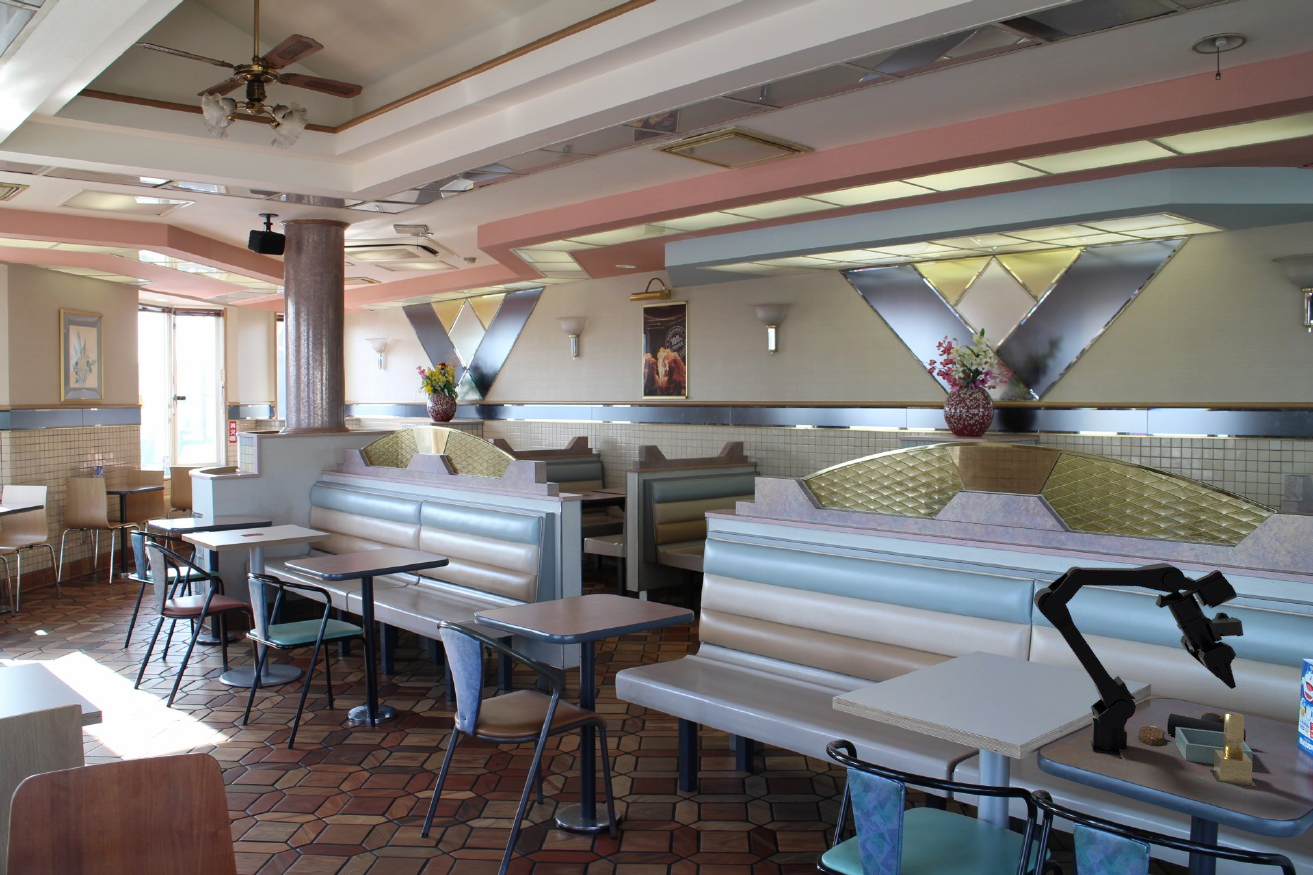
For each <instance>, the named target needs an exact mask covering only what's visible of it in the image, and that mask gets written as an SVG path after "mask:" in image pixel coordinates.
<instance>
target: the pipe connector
mask: <svg viewBox="0 0 1313 875" xmlns="http://www.w3.org/2000/svg"><path fill="white" fill-rule="evenodd" d="M1224 723H1225V714H1224V715H1222V714H1219V713H1217V712H1213V711H1212V712H1207V711H1205V712H1204V713H1203V714H1202V716H1201V718H1195V717H1190V716H1185V715H1181V714H1175V713H1170V714H1169V715H1168V718H1167V723H1166V725H1167V727H1166V728H1167V735H1169V734H1171V735H1170V736H1173V735H1175V736H1174V737H1176V727H1181V728H1189V729H1198V730H1207V731H1216V732H1224ZM1246 732H1247V731H1246V728H1245V727H1244V742H1245V743H1246V736H1247V735H1246Z"/></svg>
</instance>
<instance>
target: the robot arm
mask: <svg viewBox="0 0 1313 875" xmlns="http://www.w3.org/2000/svg"><path fill="white" fill-rule="evenodd" d="M1083 586H1093V587H1094V586H1100V587H1101V586H1102V587H1103V586H1105V587H1138V588H1146V589H1149V590H1153V591H1158V592H1164V593H1168V594H1166V595H1163V594H1162V593H1158V594H1157V595H1158V596H1157V599H1156V602H1155V606H1157V607H1159V609H1163V608H1165V607H1167V608H1168V610H1169V611H1170V613H1171V615H1172V617H1173V619H1174V620H1175V621H1176V626H1177V629H1178V630H1180V631H1181V633H1182V634H1183V635H1182V636H1181V638H1180V643H1181V646H1182V647H1183V649H1184V650H1185V651H1186V652H1187V653H1188V654H1190V656H1191V657H1193V658H1194V659H1195V660H1196V661H1198V662H1199V663H1200V664H1201V665H1202V666H1203V667H1204V668H1205V669H1206V670H1208V671H1209V672H1210V673H1211V674H1212V675H1213V676H1214V677H1216V679H1219V680H1220V681H1222V683H1224V685H1225V686H1227V687H1228V688H1230V689H1231V690H1232V689H1235V688H1236V687H1237V685H1236V681H1235V677H1234V674H1233V670H1232V663H1233V661H1234V660H1235V659H1236V656H1237V654H1236V652H1235V650H1234V648H1233V647H1232V646H1231V645H1230V644H1228V643H1226V642H1224V641H1222V640H1223V638H1222V637H1234V636H1236V637H1243V636H1244V629H1243V621H1242V620H1240V619H1239V618H1237V617H1233V616H1230V617H1229V616H1228V614H1227V613H1226V612H1224V611H1221V612H1220V611H1219V612H1216V614H1215V616H1214V618H1213V617H1212V619H1211V618H1210V617H1207V615H1206V614H1205V613H1204V611H1203V609H1202V608H1201V606H1202V607H1206V606H1207V607H1208V608H1209V609H1214V608H1216V607H1218V606H1220V605H1223V604H1224V603H1227V602H1230V601H1232V600H1235V599H1237V598H1238V595H1237V592H1236V589H1235V588H1234V587H1233V585H1232V584H1231V583H1230V582H1229V581H1228V579H1227V578H1226V577H1225V576H1224V575H1223V573H1222V571H1220V570H1218V569H1215V570H1213V571H1211V572H1209V573H1208V574H1206V575H1203V576H1202V577H1199V578H1196V579H1194V578H1192V577H1190V576H1187V577H1186V576H1185V573H1184V572H1183V571H1182V570H1180V568H1178V567H1176V566H1174V565H1172V564H1170V563H1168V562H1160V563H1154V564H1147V565H1143V566H1139V567H1124V568H1123V567H1081V566H1077V565H1076V566H1071V567H1069V568H1068V569H1067V571H1065V573H1063V574H1062V575H1061V576H1059V577H1058V578H1057V579H1055V580H1054V581H1053V582H1051V583H1050V584H1049V585H1048V586H1047V587H1042V588H1039V589H1038V590H1037V591H1036V592H1035V594H1034V597H1033V602H1034V605H1035V607H1036V608H1037V609H1038V611H1039V612H1040V613H1041V614H1042V615H1043V616H1044V617H1045V618H1046V619H1047V621H1049V622H1050V624H1051V625H1052V626H1054V627H1055V629H1057V631H1059V633H1060V634H1061V636H1062V638H1063V639H1064V640H1065V642H1066V643H1067V645H1068V646H1069V648H1070V649H1071V650H1072V652H1073V653H1074V655H1075V657H1076V658H1077V660H1078V661H1079V663H1080V664H1081V666H1082V667H1083V668H1084V670H1085V671H1086V673H1087V674H1088V676H1089V677H1090V678H1091V680H1092V682H1093V684H1094V686H1095V689H1096V691H1097V694H1098V697H1099V699H1098V700H1097V701H1095V703H1093V704H1091V706H1090V709H1091V712H1092V715H1093V716H1094V717H1092V719H1091V720H1092V721H1091V740H1090V745H1091V746H1090V747H1091V749H1092V751H1093V752H1097V753H1104V754H1105V753H1106V754H1113V755H1114V754H1115V755H1121V752H1120V750H1127V747H1128V732H1127V730H1126V728H1125V727H1126V724H1127V722H1128V720H1129V719H1131V718H1132V717H1133V715H1134V714H1135V712H1136V709H1137V707H1136V706H1137V705H1136V702H1135V701H1134V700H1136V697H1135V696H1134V695H1133V694H1132V692H1131V691H1130V690H1129V689H1128V687H1127V685H1126V683H1125V682H1124V680H1123V679H1122V678H1121V677H1120V675H1117V676H1116V677H1115V678H1113V676H1111V675H1110V674H1109V673H1108V671H1107V669H1106V668H1105V667H1104V665H1103V664H1102V663H1101V661H1100V660H1099V658H1098V657H1097V655H1096V654H1095V653H1094V651H1093V649H1092V648H1091V647H1090V644H1089V643H1088V642H1087V641H1086V639H1085V637H1084V636H1083V635H1082V633H1081V632H1080V630H1079V629H1078V628H1077V626H1076V624H1075V622H1074V620H1073V617H1072V615H1071V613H1070V610H1069V608H1068V606H1067V604H1068V602H1070V601H1071V600H1073V598H1074V597H1075V596H1076V594H1077V593H1078V591H1080V589H1081V588H1083ZM1180 591H1182V592H1180ZM1197 600H1198V601H1197ZM1198 602H1199V603H1200V604H1199V603H1198ZM1200 605H1201V606H1200Z"/></svg>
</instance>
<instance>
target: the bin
mask: <svg viewBox="0 0 1313 875" xmlns="http://www.w3.org/2000/svg"><path fill="white" fill-rule="evenodd" d="M1174 739H1175V742H1174V743H1175V744H1176V746H1177V748H1178V750H1179V751H1180V753H1181V755H1182V757H1183V759H1184V760H1185V761H1186V762H1194V763H1204V764H1209V765H1214V754H1215V750H1221V751H1224V732H1216V731H1207V730H1198V729H1189V728H1181V727H1176V736H1175V738H1174ZM1243 753H1246V755H1247V756H1248V757H1249V759H1250V760H1251V761H1252V762H1253V754H1254V752H1253V750H1252V749H1251V748H1250V747H1249V745H1248V744H1247V743H1246V741H1245V742H1244V741H1243Z"/></svg>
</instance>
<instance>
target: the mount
mask: <svg viewBox="0 0 1313 875" xmlns="http://www.w3.org/2000/svg"><path fill="white" fill-rule="evenodd" d="M1209 772H1210V773H1211V775H1212V776H1213V778H1214V779H1215V781H1216V782H1218V783H1226V784H1234V785H1242V786H1249V787H1257V785H1256V783H1255V782H1254V781H1253V780H1252V785H1250V784H1242V783H1235V782H1227V781H1220V780H1219V778H1218V777H1217V775H1216V774H1215V772H1214V769H1209Z"/></svg>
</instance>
